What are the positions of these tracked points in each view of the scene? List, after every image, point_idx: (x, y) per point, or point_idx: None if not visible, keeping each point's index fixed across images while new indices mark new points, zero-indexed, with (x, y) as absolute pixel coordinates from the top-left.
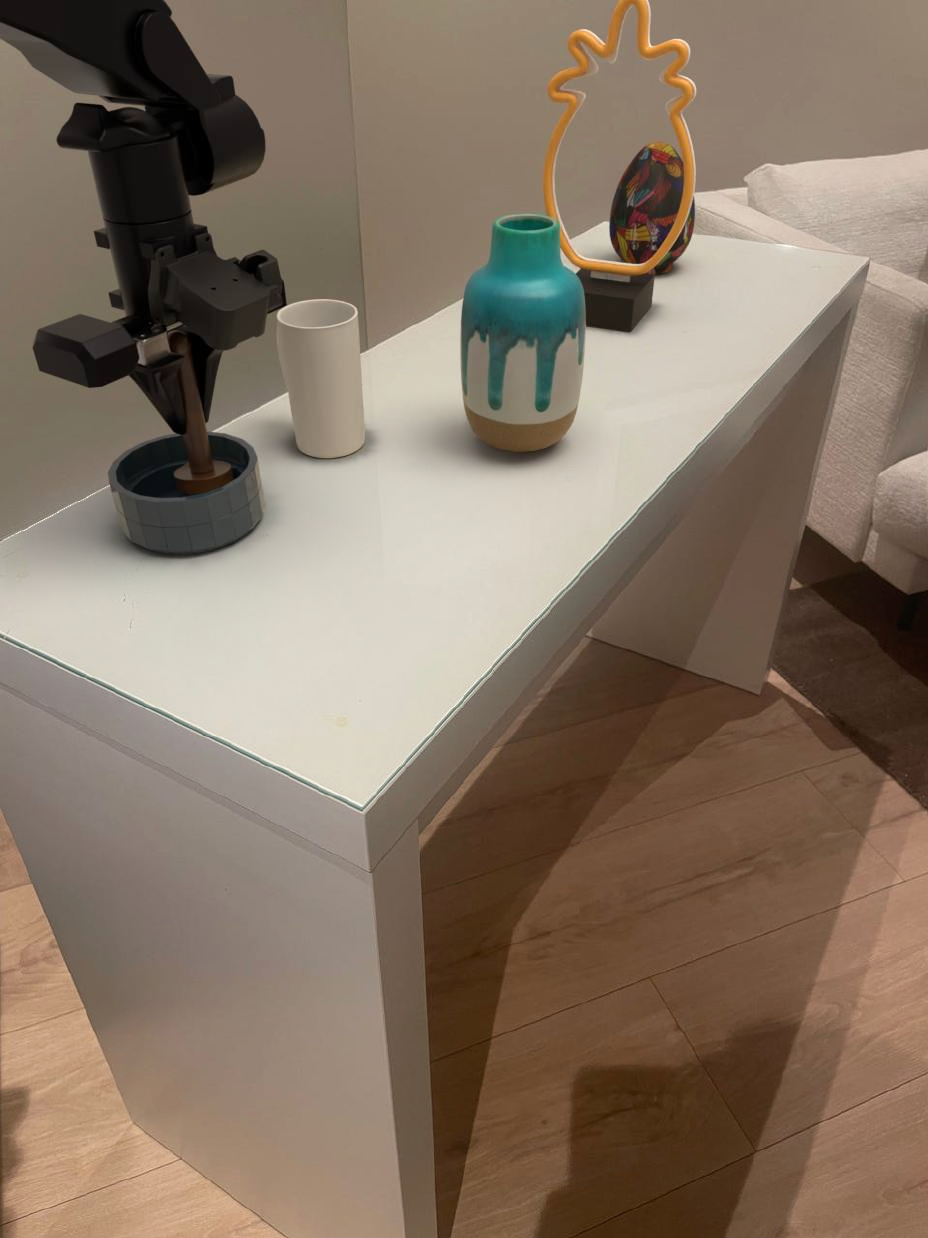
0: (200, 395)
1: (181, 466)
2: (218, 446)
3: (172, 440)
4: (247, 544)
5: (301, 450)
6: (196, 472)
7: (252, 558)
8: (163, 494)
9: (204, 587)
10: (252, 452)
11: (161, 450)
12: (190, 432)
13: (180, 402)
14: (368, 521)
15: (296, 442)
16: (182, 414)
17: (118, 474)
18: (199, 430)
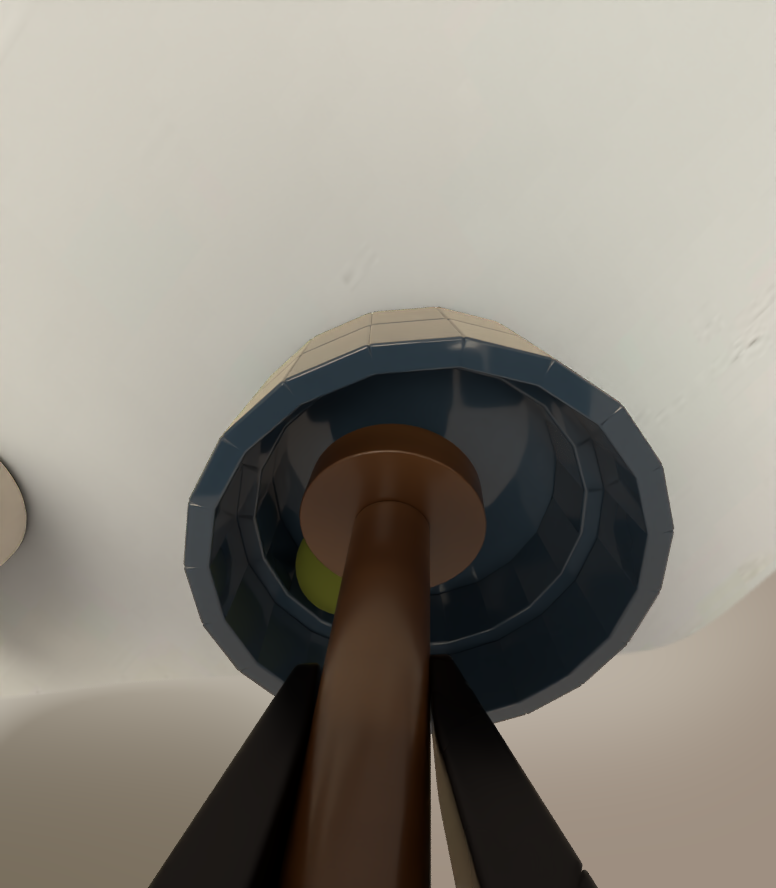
0: (285, 815)
1: None
2: (245, 606)
3: None
4: (414, 287)
5: (24, 516)
6: (428, 522)
7: (456, 217)
8: None
9: (630, 216)
10: (215, 473)
11: None
12: (421, 644)
13: (483, 827)
14: (68, 48)
15: (15, 548)
16: (458, 743)
17: (548, 666)
18: (388, 630)
